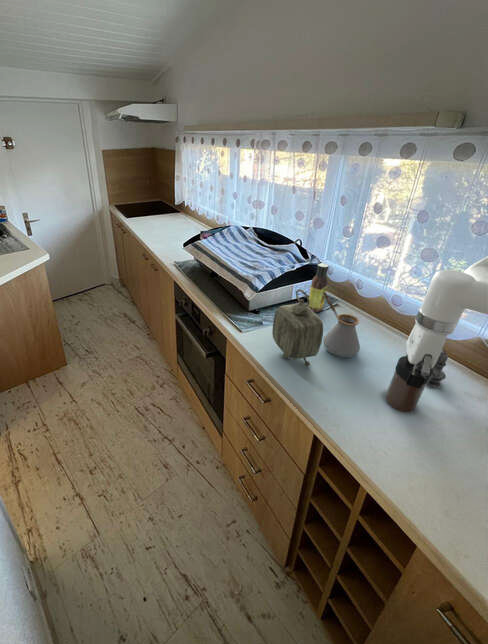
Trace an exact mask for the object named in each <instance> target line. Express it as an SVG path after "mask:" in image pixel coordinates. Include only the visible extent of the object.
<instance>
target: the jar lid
mask: <svg viewBox="0 0 488 644" xmlns="http://www.w3.org/2000/svg"><path fill="white" fill-rule="evenodd" d="M419 363H420V364H423V362H422V361H420V362H419ZM413 367H414V364H411V363H410V362H409V360H408V356H406V355H403V356H401V357H399V359H398V360H397V363H396V364H395V369H394V371H395V370H396V372H397V374H398V375H399V376H400V377H401V378H403V379H404V380H406V381H407V379H408V376H409V374H410V372H412V371H413ZM421 369H422V367H421V366H418V368H417V371H418V370H420V371H421ZM432 374H433V369H432V368H431V369H430V373H429V375H428V376H427V378H426V379H425V381H424V383H423V385H424V384H427V383H428V382H429V380H430V378H431V376H432Z"/></svg>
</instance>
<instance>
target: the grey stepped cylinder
mask: <svg viewBox="0 0 488 644" xmlns="http://www.w3.org/2000/svg"><path fill="white" fill-rule="evenodd" d="M448 358H449V355H448V353H447V352H446V350H445V349H442V351H441V353H440V355H439V358H438V360H437V362H436V364H435V365H434V367H433V368H432V369H433V374H432V376H431V378H430V380H429V382H428V383H427V385H426V386H427V387H430V388H439V387H441V383H440V382H442V381H443V380H445V379H446V378H447V375H446V374H445V372H444V371H443V369H444V367H446V366H447V360H448Z"/></svg>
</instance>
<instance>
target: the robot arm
mask: <svg viewBox="0 0 488 644" xmlns="http://www.w3.org/2000/svg"><path fill="white" fill-rule="evenodd" d="M465 310H470V311H474V312H477V313H481V314H484V315H488V255H487V256H485V257H484V258H482V259H480V260H478V261H476V262H475V263H473V264H472V265H470V266H469V267H467V268H466V269H464V271H460V270H455V269H441V270H438V271H436V272H435V273H434V275H433V276H432V278H431V280H430V283H429V286H428V288H427V291H426V293H425V295H424V298H423V301H422V302H421V305H420V308H419V310H418V312H417V314H416V317H415V319H414V322H415V323H414V326H413V327H412V330H411V332H410V334H409V336H408V339H407V340H406V343H405V349H406V355H405V356H408V360H409V362H410V363H411V364H414V367H413V371H412V372H410V374H409V376H408V379H407V381H406V385H408V386H412V387H415V388H419V389H420V388H421V387H422V385H423V383H424V381H425V379H426V378H427V376H428V375H429V373H430V369H431V368H433V367H434V365H435V364H436V362H437V360H438V358H439V355H440V353H441V351H442V350H443V348H444V345H445V343H446V339H447V337H448V336H449V335H452V334H454V332H455V330H456V328H457V325H458V323H459V322H460V319H461V317H462V316H463V313H464V311H465ZM420 361H422V362H423V364H420V363H419V362H420ZM418 366H421V367H422V369H421V371H420V370H418V371H417V368H418Z"/></svg>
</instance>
